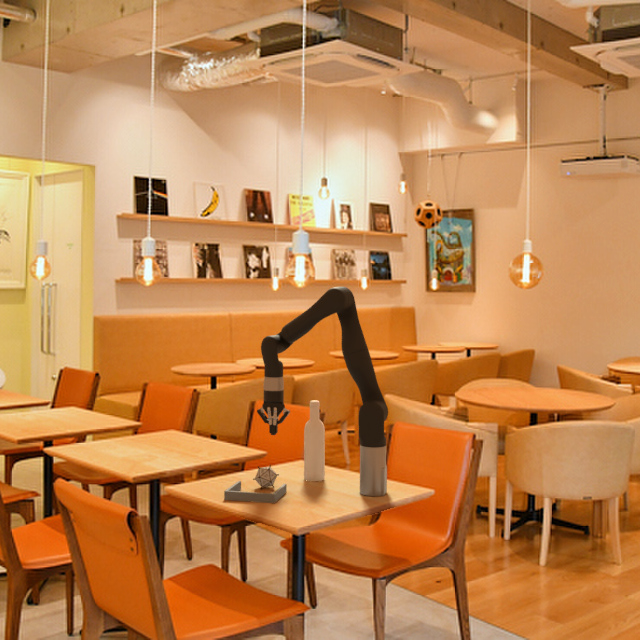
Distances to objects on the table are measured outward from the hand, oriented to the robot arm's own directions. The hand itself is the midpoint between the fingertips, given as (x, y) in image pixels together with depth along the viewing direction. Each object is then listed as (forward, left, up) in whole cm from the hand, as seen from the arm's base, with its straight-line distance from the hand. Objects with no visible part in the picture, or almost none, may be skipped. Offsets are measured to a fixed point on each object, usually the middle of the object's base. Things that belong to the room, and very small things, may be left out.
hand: (273, 434), depth 314 cm
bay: (0, +22, -18) cm, 28 cm away
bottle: (-14, -7, -18) cm, 24 cm away
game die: (0, +10, -18) cm, 20 cm away
